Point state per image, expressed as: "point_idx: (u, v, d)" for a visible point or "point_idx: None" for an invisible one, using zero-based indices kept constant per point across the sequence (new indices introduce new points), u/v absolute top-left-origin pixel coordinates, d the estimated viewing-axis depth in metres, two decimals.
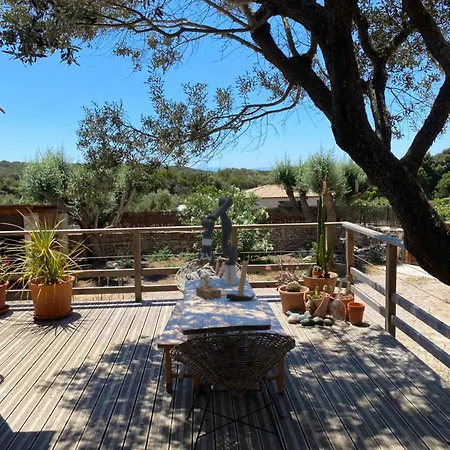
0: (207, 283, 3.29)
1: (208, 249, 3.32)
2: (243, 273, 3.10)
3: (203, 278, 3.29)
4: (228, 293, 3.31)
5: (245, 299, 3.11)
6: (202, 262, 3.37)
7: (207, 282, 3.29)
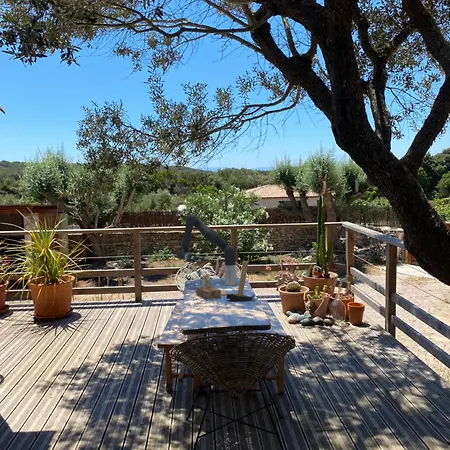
0: (207, 283, 3.29)
1: None
2: (243, 273, 3.10)
3: (203, 278, 3.29)
4: (228, 293, 3.31)
5: (245, 299, 3.11)
6: (202, 258, 3.42)
7: (207, 282, 3.29)
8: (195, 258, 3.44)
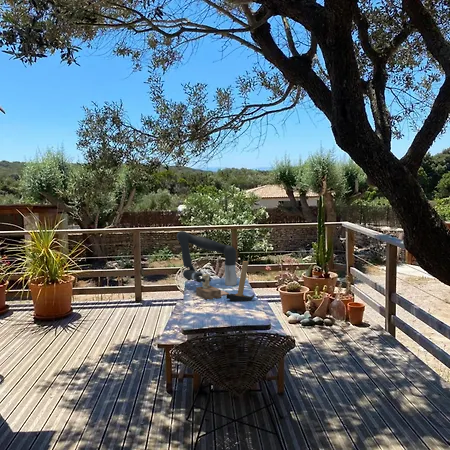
0: (207, 283, 3.29)
1: None
2: (243, 273, 3.10)
3: (203, 278, 3.29)
4: (228, 293, 3.31)
5: (245, 299, 3.11)
6: None
7: (207, 282, 3.29)
8: None
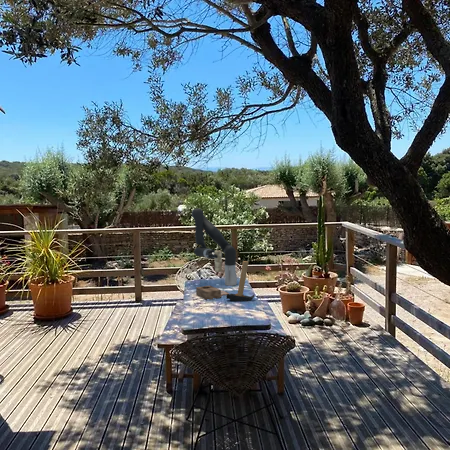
0: (219, 259, 3.30)
1: (208, 257, 3.40)
2: (243, 273, 3.10)
3: (215, 254, 3.31)
4: (228, 293, 3.31)
5: (245, 299, 3.11)
6: None
7: (219, 258, 3.30)
8: None
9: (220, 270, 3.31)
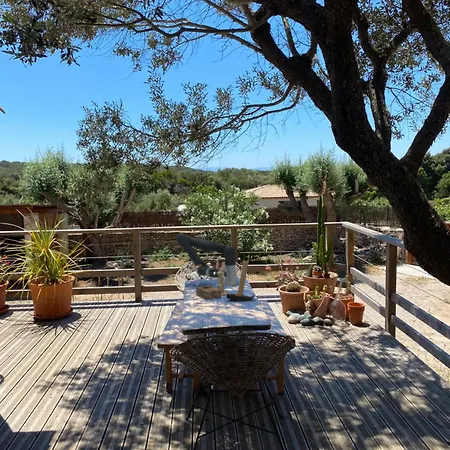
0: (222, 280, 3.32)
1: None
2: (243, 273, 3.10)
3: (218, 275, 3.33)
4: (228, 293, 3.31)
5: (245, 299, 3.11)
6: (224, 273, 3.35)
7: (222, 279, 3.32)
8: None
9: (223, 291, 3.33)
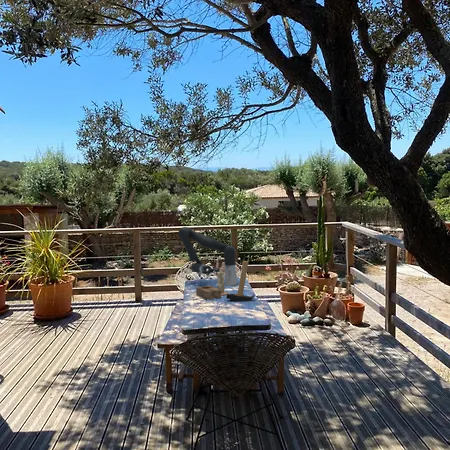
0: (222, 280, 3.32)
1: None
2: (243, 273, 3.10)
3: (218, 275, 3.33)
4: (228, 293, 3.31)
5: (245, 299, 3.11)
6: (217, 270, 3.46)
7: (222, 279, 3.32)
8: (210, 270, 3.48)
9: (223, 291, 3.33)
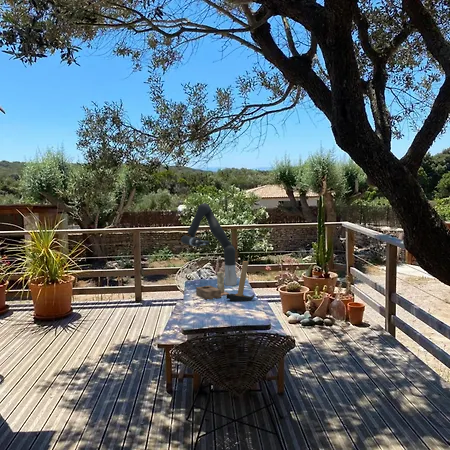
0: (222, 280, 3.32)
1: None
2: (243, 273, 3.10)
3: (218, 275, 3.33)
4: (228, 293, 3.31)
5: (245, 299, 3.11)
6: (207, 242, 3.47)
7: (222, 279, 3.32)
8: (200, 242, 3.48)
9: (223, 291, 3.33)
